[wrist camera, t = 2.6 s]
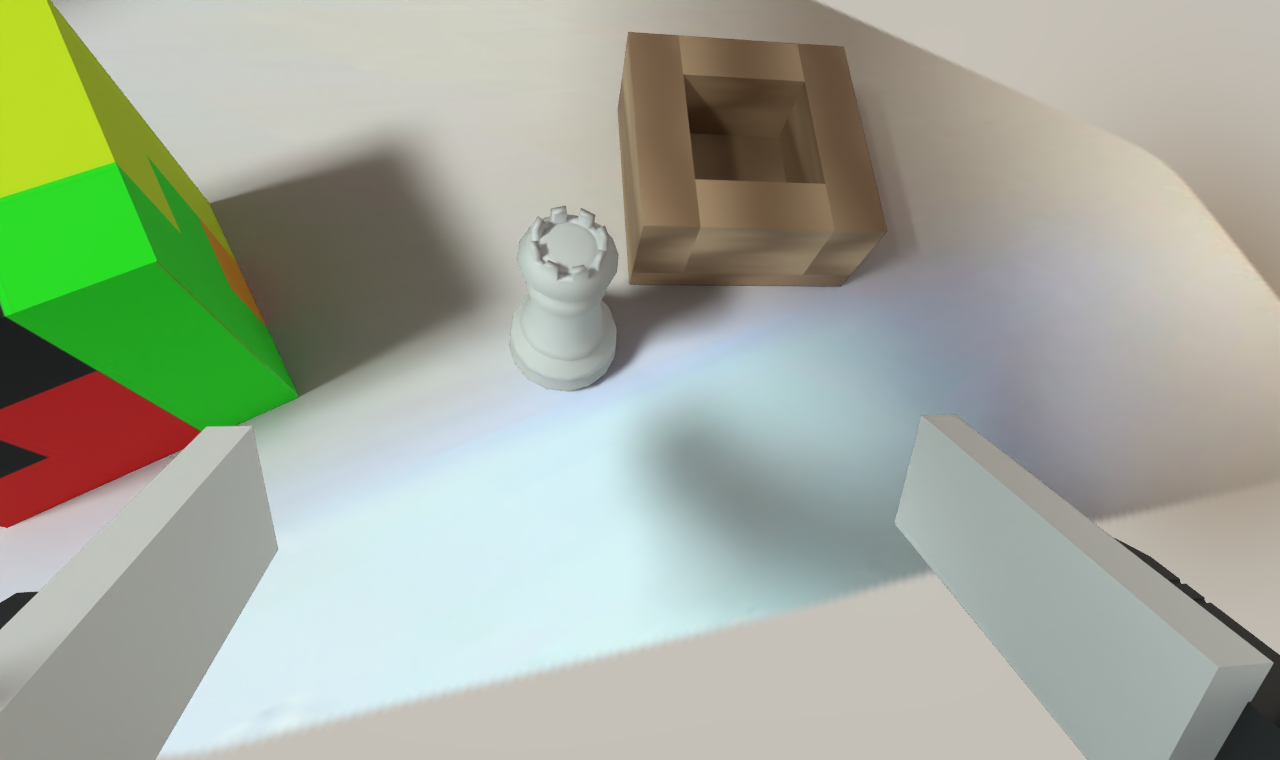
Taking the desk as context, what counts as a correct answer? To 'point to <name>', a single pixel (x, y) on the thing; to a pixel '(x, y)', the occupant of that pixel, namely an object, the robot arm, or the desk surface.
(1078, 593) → the robot arm
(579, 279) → the rook chess piece
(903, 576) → the desk surface
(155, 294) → the puzzle toy
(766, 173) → the socket block
